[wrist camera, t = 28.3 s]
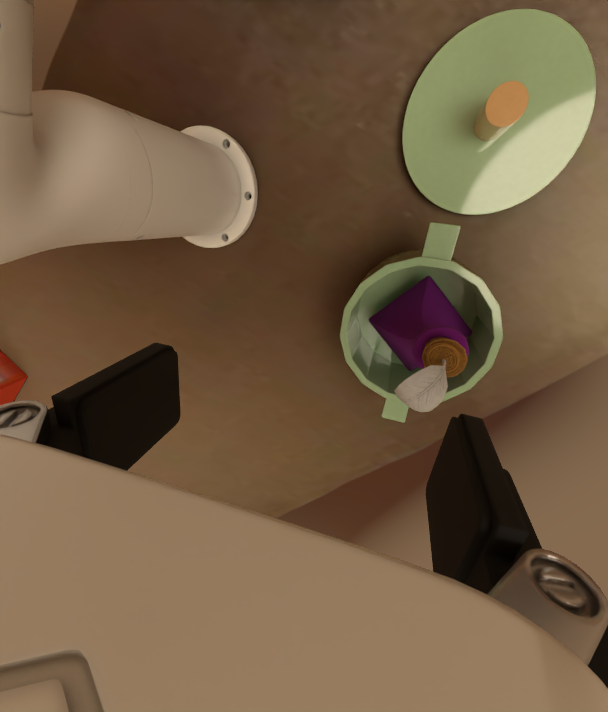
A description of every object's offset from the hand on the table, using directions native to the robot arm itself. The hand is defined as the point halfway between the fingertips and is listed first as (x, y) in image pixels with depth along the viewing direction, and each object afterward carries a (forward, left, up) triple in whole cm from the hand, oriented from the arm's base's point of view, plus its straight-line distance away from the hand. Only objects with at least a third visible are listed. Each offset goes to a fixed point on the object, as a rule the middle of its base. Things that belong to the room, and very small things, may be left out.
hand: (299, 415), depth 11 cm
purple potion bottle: (+6, -4, -29) cm, 30 cm away
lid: (+7, +15, -29) cm, 33 cm away
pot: (+5, -3, -30) cm, 30 cm away
